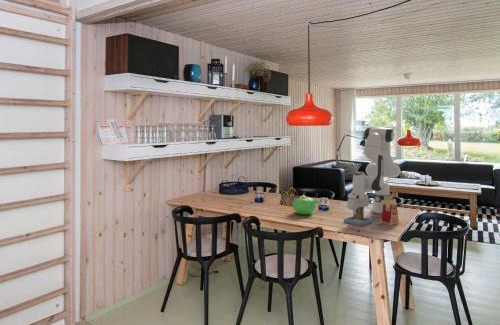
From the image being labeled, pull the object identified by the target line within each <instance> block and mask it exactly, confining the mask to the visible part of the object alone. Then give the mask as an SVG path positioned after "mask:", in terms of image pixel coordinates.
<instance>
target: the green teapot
mask: <svg viewBox="0 0 500 325" xmlns="http://www.w3.org/2000/svg"><path fill="white" fill-rule="evenodd" d="M318 203H320V199H313V198H311V197H309V196H306V195H305V194H302V195H301V196H300V197H297V198H296V199H294V200H293V203H292V208H293V210H294V211H295V213H297V214H299V215H310V214H312V213H313V212H314V211H315V210H316V204H318Z"/></svg>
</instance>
